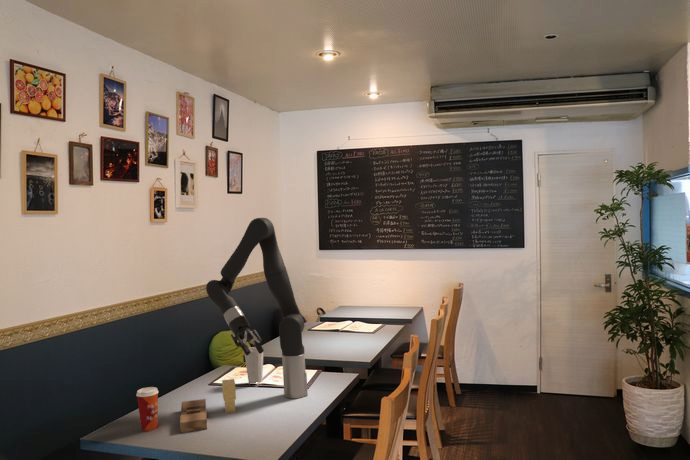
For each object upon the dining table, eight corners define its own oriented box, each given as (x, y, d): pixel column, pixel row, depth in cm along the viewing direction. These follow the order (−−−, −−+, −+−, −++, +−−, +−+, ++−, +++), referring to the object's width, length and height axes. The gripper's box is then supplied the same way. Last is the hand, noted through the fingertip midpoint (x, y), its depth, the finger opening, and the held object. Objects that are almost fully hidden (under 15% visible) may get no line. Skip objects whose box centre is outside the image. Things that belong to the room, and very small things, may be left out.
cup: (269, 381, 255) (267, 347, 255) (256, 387, 248) (254, 352, 248) (254, 379, 260) (252, 346, 260) (241, 384, 253) (240, 350, 252)
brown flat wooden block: (205, 407, 224) (205, 398, 224) (206, 428, 201) (206, 419, 201) (182, 410, 222) (181, 401, 222) (180, 432, 199) (180, 422, 199)
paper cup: (153, 432, 200) (151, 393, 200) (133, 431, 202) (131, 392, 201) (164, 424, 208) (162, 386, 208) (145, 423, 209) (143, 386, 209)
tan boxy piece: (235, 406, 224) (234, 378, 224) (236, 412, 217) (235, 383, 217) (223, 408, 223) (222, 380, 222) (224, 413, 216) (222, 385, 216)
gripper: (231, 315, 224) (250, 348, 218) (253, 314, 237) (272, 346, 231) (219, 326, 227) (238, 360, 220) (241, 325, 239) (260, 357, 233)
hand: (255, 353), depth 226 cm, fingers open, 8 cm apart
